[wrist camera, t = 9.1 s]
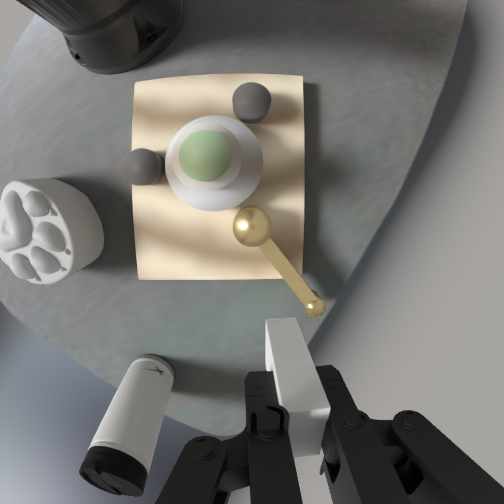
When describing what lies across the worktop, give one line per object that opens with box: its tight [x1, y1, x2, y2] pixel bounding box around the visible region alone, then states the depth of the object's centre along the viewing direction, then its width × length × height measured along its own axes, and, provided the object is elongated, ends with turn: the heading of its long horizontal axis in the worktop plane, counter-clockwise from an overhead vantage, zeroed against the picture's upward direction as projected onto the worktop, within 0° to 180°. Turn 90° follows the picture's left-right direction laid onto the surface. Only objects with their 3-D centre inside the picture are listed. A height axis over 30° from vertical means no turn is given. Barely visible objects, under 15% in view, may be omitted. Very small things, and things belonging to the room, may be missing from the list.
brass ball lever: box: [233, 206, 326, 317], centre depth 29 cm, size 13×4×3 cm, turn 38°
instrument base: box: [123, 74, 305, 280], centre depth 25 cm, size 22×18×12 cm
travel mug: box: [79, 354, 174, 497], centre depth 26 cm, size 6×7×20 cm
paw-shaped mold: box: [0, 178, 104, 284], centre depth 27 cm, size 10×13×9 cm
